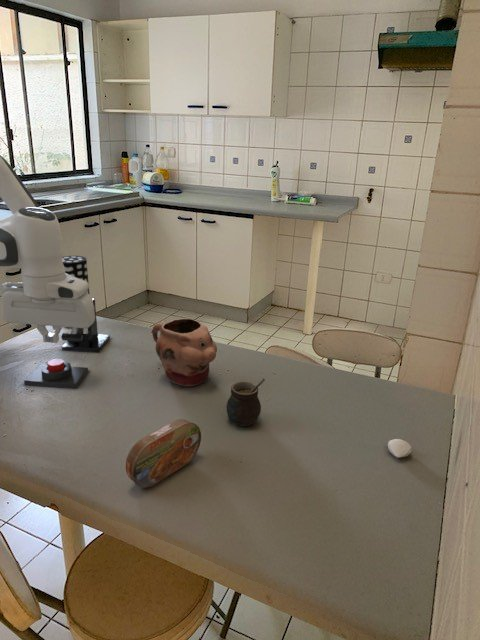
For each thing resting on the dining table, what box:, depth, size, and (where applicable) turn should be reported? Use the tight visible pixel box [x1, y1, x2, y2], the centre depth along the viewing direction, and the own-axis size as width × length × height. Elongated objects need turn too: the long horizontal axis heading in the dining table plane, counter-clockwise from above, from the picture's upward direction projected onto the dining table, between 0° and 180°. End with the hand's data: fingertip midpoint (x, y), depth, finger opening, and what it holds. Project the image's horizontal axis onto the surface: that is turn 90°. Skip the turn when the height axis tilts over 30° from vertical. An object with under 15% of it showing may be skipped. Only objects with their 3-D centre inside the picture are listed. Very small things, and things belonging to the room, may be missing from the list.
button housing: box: [23, 360, 89, 389], centre depth 109 cm, size 12×8×3 cm, turn 87°
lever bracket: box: [61, 298, 111, 354], centre depth 125 cm, size 9×10×13 cm
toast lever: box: [60, 327, 83, 342], centre depth 121 cm, size 12×5×2 cm
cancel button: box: [46, 358, 65, 372], centre depth 109 cm, size 4×4×2 cm
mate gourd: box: [225, 378, 266, 427], centre depth 95 cm, size 7×8×10 cm
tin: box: [125, 418, 202, 489], centre depth 80 cm, size 15×3×8 cm, turn 137°
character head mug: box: [151, 317, 218, 387], centre depth 111 cm, size 20×12×14 cm, turn 58°
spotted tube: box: [62, 255, 91, 329], centre depth 137 cm, size 8×8×20 cm
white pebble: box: [387, 438, 412, 459], centre depth 88 cm, size 4×5×2 cm
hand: (51, 341), depth 106 cm, fingers closed
